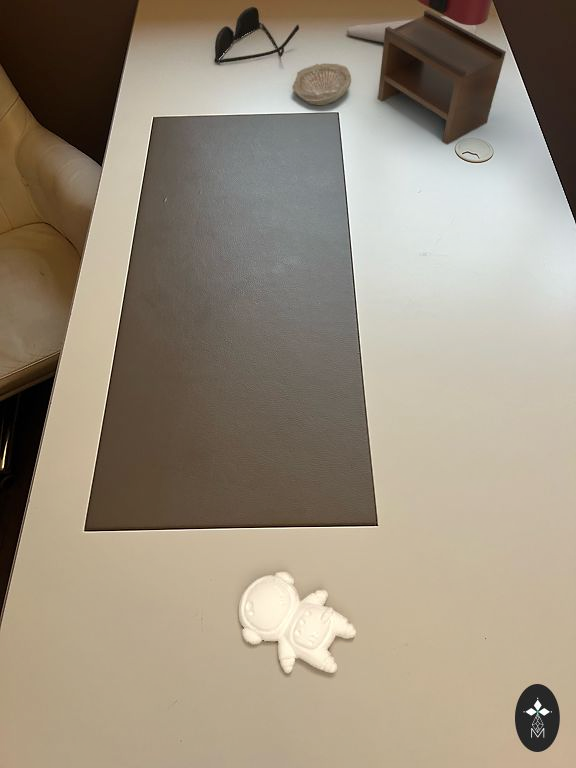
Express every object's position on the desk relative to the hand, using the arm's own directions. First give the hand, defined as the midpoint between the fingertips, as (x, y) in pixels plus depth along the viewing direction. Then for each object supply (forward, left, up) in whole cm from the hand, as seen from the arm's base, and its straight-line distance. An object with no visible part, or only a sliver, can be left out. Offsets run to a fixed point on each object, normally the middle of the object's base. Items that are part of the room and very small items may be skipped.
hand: (451, 1), depth 98 cm
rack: (0, 0, -19) cm, 19 cm away
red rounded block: (0, 0, -1) cm, 1 cm away
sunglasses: (+12, -36, -19) cm, 43 cm away
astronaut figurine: (+75, +56, -19) cm, 95 cm away
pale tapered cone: (-12, -18, -19) cm, 29 cm away
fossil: (+12, -17, -19) cm, 28 cm away
